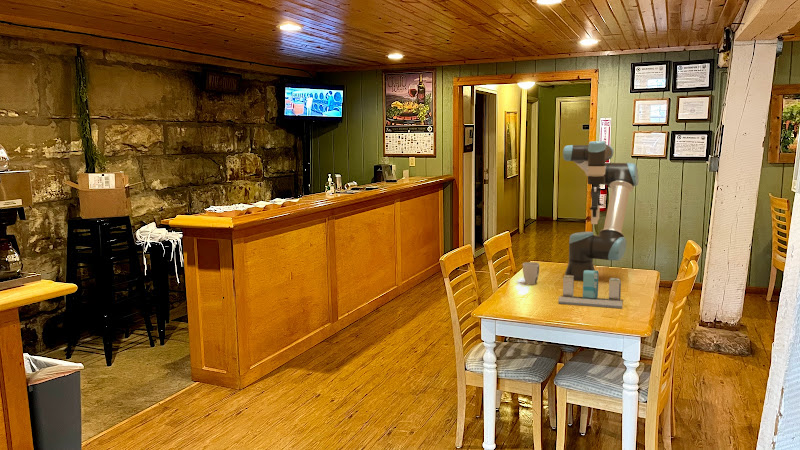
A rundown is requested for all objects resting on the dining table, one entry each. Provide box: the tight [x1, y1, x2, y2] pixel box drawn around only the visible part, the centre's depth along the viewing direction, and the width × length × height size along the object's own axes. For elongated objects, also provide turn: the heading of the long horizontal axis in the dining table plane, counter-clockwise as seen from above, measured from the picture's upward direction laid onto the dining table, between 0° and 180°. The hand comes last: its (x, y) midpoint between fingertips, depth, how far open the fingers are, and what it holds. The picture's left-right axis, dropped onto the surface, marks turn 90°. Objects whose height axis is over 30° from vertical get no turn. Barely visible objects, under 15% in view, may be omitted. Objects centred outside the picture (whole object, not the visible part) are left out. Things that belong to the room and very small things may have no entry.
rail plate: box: [558, 274, 623, 309], centre depth 262 cm, size 10×26×11 cm, turn 69°
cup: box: [522, 261, 540, 286], centre depth 297 cm, size 8×8×10 cm
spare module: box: [619, 280, 622, 300], centre depth 266 cm, size 5×4×8 cm
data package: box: [582, 270, 599, 299], centre depth 264 cm, size 12×4×12 cm, turn 153°
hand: (595, 221), depth 276 cm, fingers open, 13 cm apart
